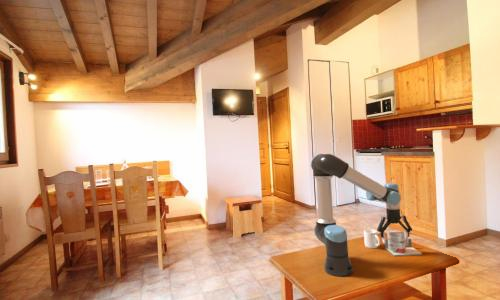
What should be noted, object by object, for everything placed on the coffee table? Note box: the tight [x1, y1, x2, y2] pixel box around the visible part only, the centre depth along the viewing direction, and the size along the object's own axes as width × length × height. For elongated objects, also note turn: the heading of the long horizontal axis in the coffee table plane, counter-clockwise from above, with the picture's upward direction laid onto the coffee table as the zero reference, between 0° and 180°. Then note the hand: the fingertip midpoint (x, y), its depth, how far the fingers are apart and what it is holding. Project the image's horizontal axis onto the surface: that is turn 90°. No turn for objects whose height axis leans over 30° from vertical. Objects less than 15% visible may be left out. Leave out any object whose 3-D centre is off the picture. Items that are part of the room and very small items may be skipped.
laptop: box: [384, 238, 423, 257], centre depth 163 cm, size 16×12×6 cm
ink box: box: [386, 229, 406, 253], centre depth 163 cm, size 8×5×12 cm, turn 39°
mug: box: [363, 228, 381, 249], centre depth 174 cm, size 12×8×10 cm
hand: (395, 242), depth 163 cm, fingers open, 13 cm apart
